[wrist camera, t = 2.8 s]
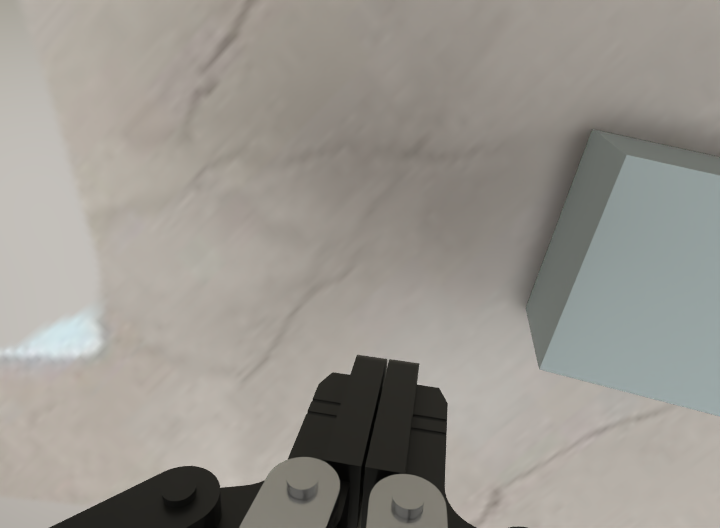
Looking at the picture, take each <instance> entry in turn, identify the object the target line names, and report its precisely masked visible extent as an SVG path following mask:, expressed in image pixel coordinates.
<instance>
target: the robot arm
mask: <svg viewBox="0 0 720 528" xmlns="http://www.w3.org/2000/svg"><path fill="white" fill-rule="evenodd" d="M418 370H419V364H418V363H411V362H405V361H398V360H391V359H389V363H388V367H387V359H383V358H376V357H369V356H362V355H357V357H356V359H355V362H354V366H353V369H352V372H351V375H347V374H340V373H331V374H330V375H329V376H328V377H327V378H325V379H324V380H323V381H322V382H321V383H319V385H318V387H317V390H316V392H315V395H314V397H313V401H312V402H311V404H310V407H309V409H308V413H307V414H306V417H305V419H304V421H303V424H302V426H301V429H300V431H299V433H298V436H297V438H296V441H295V443H294V446H293V448H292V450H291V453H290V455H289V458H288V460H286V461H284V462H282V463H280V464H278V465H277V466H276V467H274V468H273V469H272V470H271V471H270V473H269V474H268V476H267V478H266V479H265V481H262V482H260V483H256V484H252V485H246V486H235V487H225V488H220V485H219V482H218V480H217V478H216V476H215V475H213V474H212V473H211V472H210V471H208V470H206V469H204V468H200V467H196V466H182V467H177V468H173V469H170V470H167V471H165V472H163V473H161V474H159V475H156V476H154V477H152V478H150V479H148V480H146V481H144V482H142V483H140V484H138V485H136V486H134V487H132V488H130V489H128V490H126V491H124V492H122V493H120V494H118V495H116V496H113V497H111V498H109V499H107V500H105V501H103V502H101V503H99V504H97V505H95V506H93V507H91V508H89V509H87V510H85V511H83V512H81V513H79V514H77V515H75V516H73V517H71V518H69V519H66V520H64V521H62V522H61V523H58V524H56V525H54V526H52V527H50V528H476V527H474V526H472V525H471V524H469V523H467V522H466V521H465V520H463V519H462V518H461V517H460V516H459V515H458V514H457V513H456V512H455V511H454V510H453V509H452V507H451V506H450V504H449V502H448V500H447V498H446V494H445V459H446V432H447V404H448V403H447V402H446V400H445V398H444V396H443V394H442V393H441V391H440V389H439V388H435V387H428V386H422V385H417V379H418ZM510 528H526V527H510Z"/></svg>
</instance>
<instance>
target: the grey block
mask: <svg viewBox="0 0 720 528" xmlns="http://www.w3.org/2000/svg"><path fill="white" fill-rule="evenodd" d="M526 312H527V316H528V321H529V325H530V330H531V334H532V339H533V343H534V348H535V352H536V357H537V361H538V366H539V369H540V370H544V371H547V372H551V373H555V374H559V375H563V376H567V377H570V378H574V379H578V380H582V381H586V382H590V383H593V384H597V385H601V386H605V387H609V388H613V389H617V390H620V391H624V392H628V393H632V394H636V395H640V396H643V397H647V398H651V399H655V400H659V401H663V402H666V403H670V404H674V405H678V406H682V407H686V408H689V409H693V410H697V411H701V412H705V413H709V414H713V415H716V416H720V157H717V156H713V155H708V154H704V153H699V152H695V151H690V150H686V149H681V148H677V147H672V146H667V145H663V144H658V143H654V142H649V141H645V140H640V139H636V138H631V137H626V136H622V135H617V134H613V133H608V132H604V131H599V130H595V129H592V131H591V134H590V137H589V139H588V142H587V145H586V147H585V150H584V153H583V156H582V158H581V161H580V164H579V166H578V169H577V172H576V174H575V177H574V180H573V182H572V185H571V188H570V190H569V193H568V196H567V198H566V201H565V204H564V207H563V209H562V212H561V215H560V217H559V220H558V223H557V225H556V228H555V231H554V233H553V236H552V239H551V241H550V244H549V247H548V249H547V252H546V255H545V257H544V260H543V263H542V266H541V268H540V271H539V274H538V276H537V279H536V282H535V284H534V287H533V290H532V292H531V295H530V298H529V300H528V303H527V306H526Z"/></svg>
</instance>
